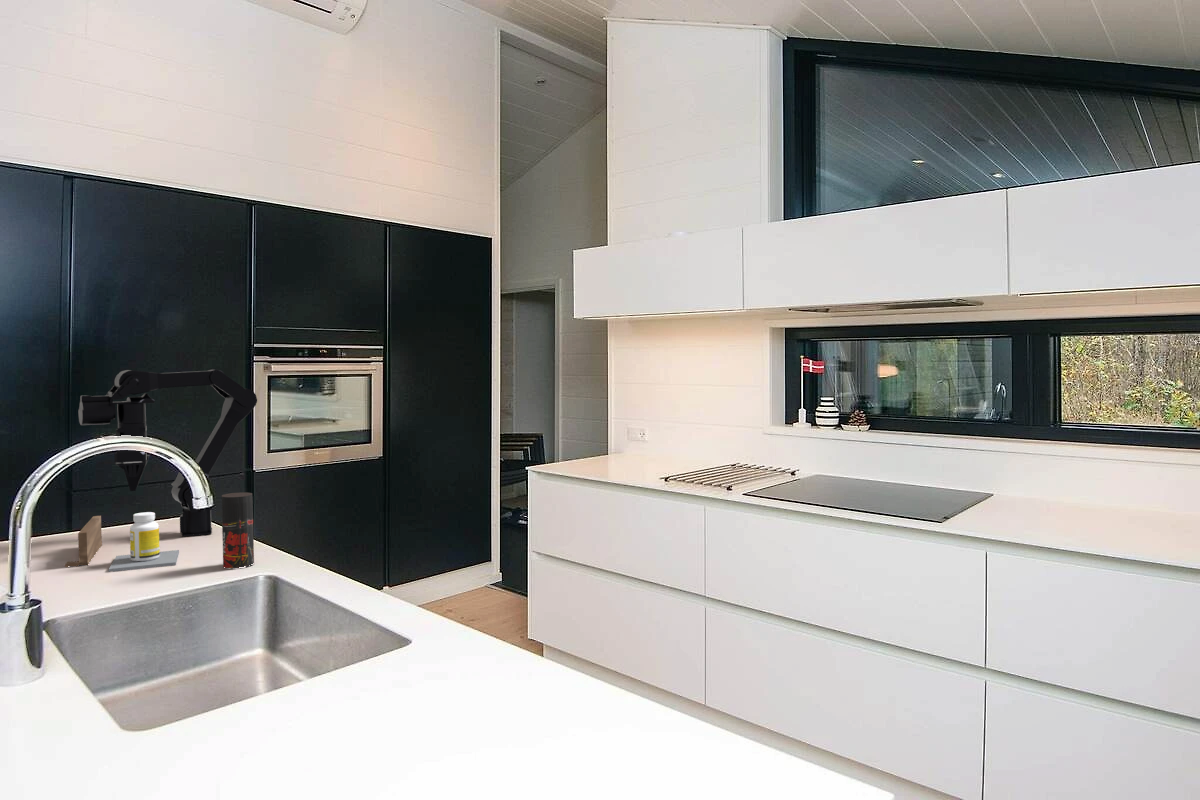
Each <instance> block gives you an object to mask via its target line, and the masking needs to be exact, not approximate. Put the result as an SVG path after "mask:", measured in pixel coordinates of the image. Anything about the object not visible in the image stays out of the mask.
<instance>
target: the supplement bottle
mask: <svg viewBox="0 0 1200 800" xmlns="http://www.w3.org/2000/svg"><path fill="white" fill-rule="evenodd" d="M132 517H133V522H134V524H132V525H131V526H130V528H129V545H130V548H129V549H130V554H129V555H130V556H131V560H132V561H149V560H154V559H157V558H158V557H159V555H160V552H161V550H160V548H161V547H160V525H159V523H158V522H156V520H155V519H156V513H155V512H152V511H146V512H138V513H134V514H133V515H132Z"/></svg>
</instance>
